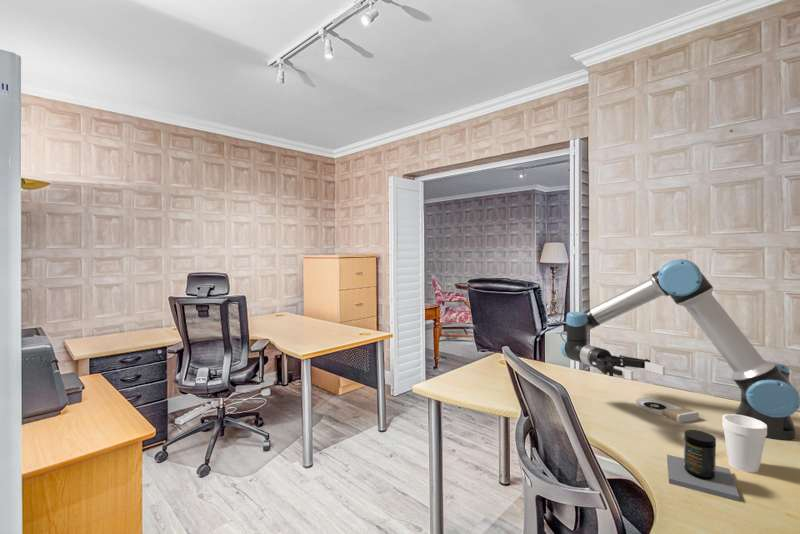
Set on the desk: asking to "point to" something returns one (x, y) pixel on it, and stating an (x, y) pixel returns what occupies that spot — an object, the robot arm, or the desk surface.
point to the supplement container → (699, 454)
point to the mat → (716, 486)
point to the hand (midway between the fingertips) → (648, 373)
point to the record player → (667, 410)
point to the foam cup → (744, 441)
